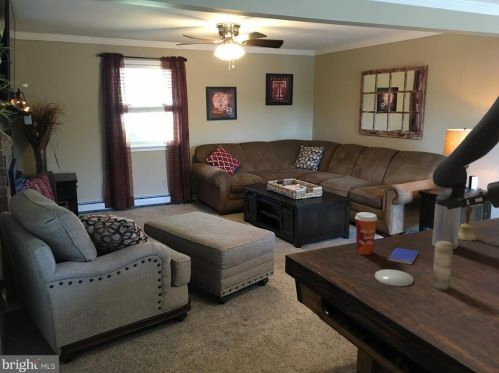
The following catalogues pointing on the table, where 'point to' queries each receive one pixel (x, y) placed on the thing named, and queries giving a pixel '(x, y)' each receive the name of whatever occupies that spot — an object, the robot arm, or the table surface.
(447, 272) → the wooden cylinder
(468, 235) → the hand bell
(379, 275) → the white plate
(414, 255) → the hard drive
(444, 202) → the robot arm
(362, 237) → the coffee cup
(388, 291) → the table surface
